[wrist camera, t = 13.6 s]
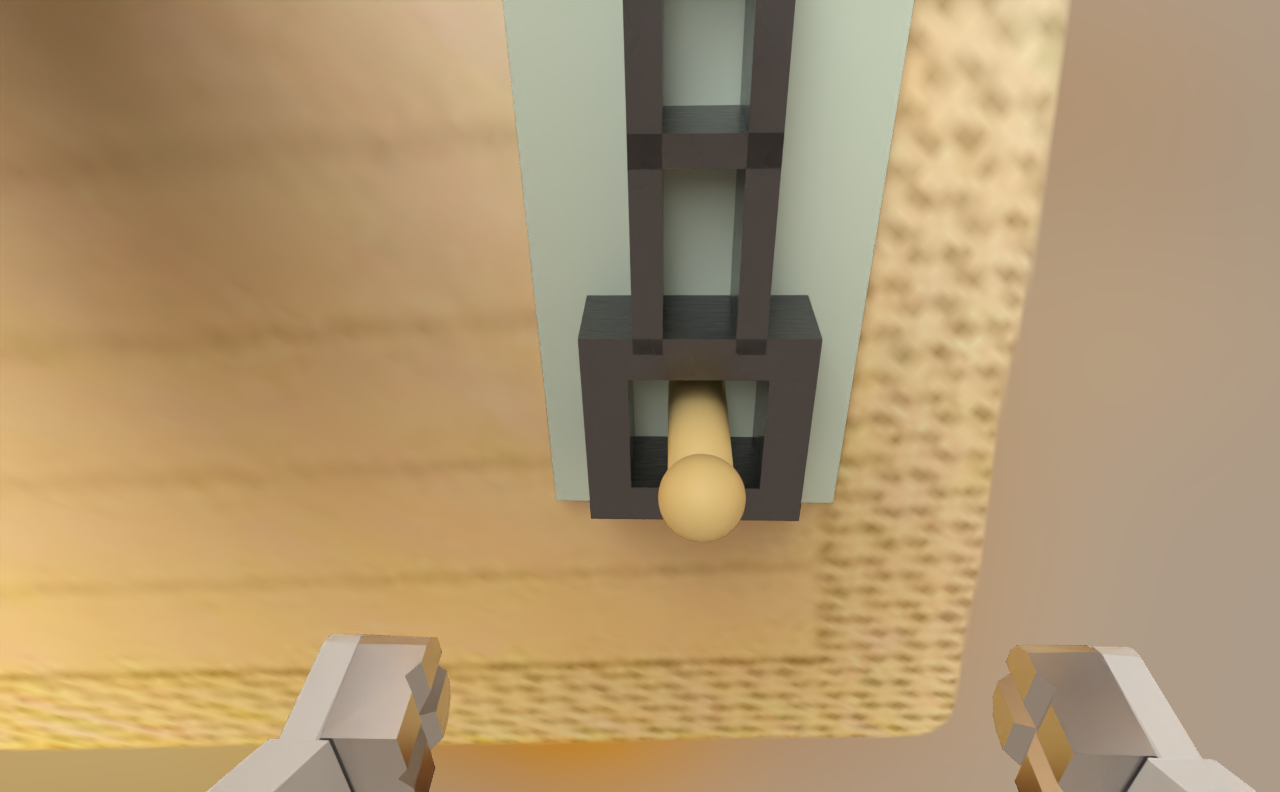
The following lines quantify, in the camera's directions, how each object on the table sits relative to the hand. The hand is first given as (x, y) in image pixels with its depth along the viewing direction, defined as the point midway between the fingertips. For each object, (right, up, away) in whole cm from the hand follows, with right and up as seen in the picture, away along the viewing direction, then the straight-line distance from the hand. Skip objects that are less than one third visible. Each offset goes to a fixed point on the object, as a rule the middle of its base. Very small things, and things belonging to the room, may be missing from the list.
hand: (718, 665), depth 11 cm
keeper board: (+1, +9, +17) cm, 19 cm away
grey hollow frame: (+1, +9, +15) cm, 18 cm away
